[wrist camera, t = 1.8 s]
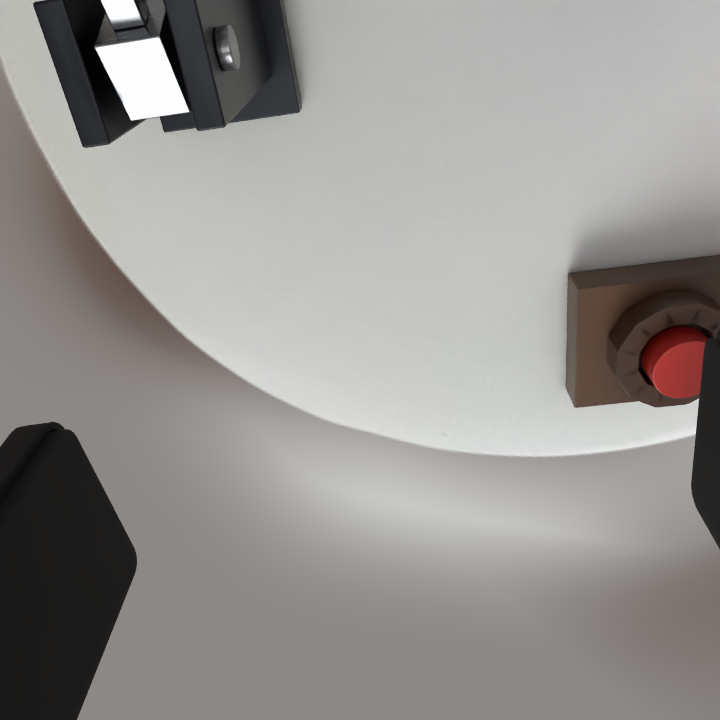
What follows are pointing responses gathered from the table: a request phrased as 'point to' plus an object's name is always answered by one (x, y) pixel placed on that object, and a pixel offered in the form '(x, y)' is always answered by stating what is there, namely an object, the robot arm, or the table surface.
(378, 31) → the table surface
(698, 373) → the red button
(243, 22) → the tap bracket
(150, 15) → the tap lever
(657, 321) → the button block
